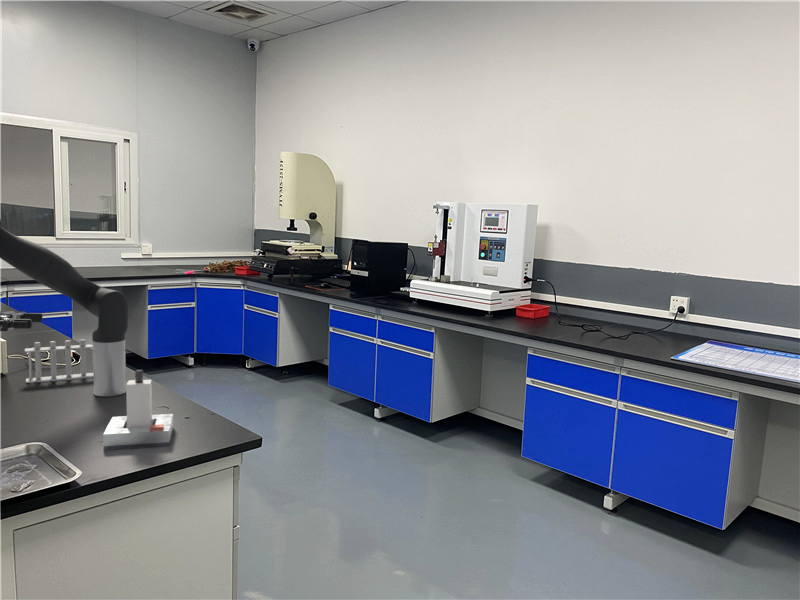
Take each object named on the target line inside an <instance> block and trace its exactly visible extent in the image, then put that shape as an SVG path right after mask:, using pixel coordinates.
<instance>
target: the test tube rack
mask: <svg viewBox="0 0 800 600" xmlns="http://www.w3.org/2000/svg"><path fill="white" fill-rule="evenodd" d="M33 343H34V344H33V347H27V348H24V353H27V355H28V356H27V357H28V374H29V376H28V378H25V384H26V383H30V384H35V383H34V382H41V383H50V381H52V382H61V381H62V380H63V381H69V380H70V381H72V380H83V379H84V378H85V379H93V372H87V350H86V349H93V343H92V344H89V343H88V344H87V342H86V339H84V338H83V339H79V344H77V345H75V344H73V345H72V341H71V340H69V339H68V340H65V341H64V345H61V346H60V345H59V346H58V345H57V343H56V341H54V340H52V341H49V346H45V347H43V346H42V347H41V342H40V341H36V342H33ZM72 350H79V353H80V354H79V356H80V357H79V359H80V373H74V374H73V373H72V372H73V371H72V368H73V367H72ZM57 351H64V354H65V374H64V375H58V373H57V371H58V368H57V367H58V366H57ZM41 352H49V353H50V354H49V355H50V356H49V358H50V375H49V376H42V354H41ZM33 353H34V369H35V373H34V374H35V377H33V365H32V364H33V363H32V362H33V361H32V354H33Z"/></svg>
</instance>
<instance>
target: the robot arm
mask: <svg viewBox="0 0 800 600" xmlns="http://www.w3.org/2000/svg"><path fill="white" fill-rule="evenodd" d="M0 260H3V261H4V262H5V263H7V264H9V265H10V267H11V266H12V267H13V268H14V269H16V270H18V271H20V272H21V273H22V274H24V275H26V276H27V277H29V278H31V279H32V280H34V281H35V282H38V283H39V284H41V285H43V286H45V287H46V288H49V289H51V290H53V291H55V292H56V293H59V294H62V295H63V296H66V297H68V298H69V299H72V301H74V302H76V303H77V304H79V305H80V306H81V307H83V308H84V309H85V310H87V312H89V313H90V314H92V315H94V316H95V317H98V320H97V321H98V322H97V324H98V325H97V326H98V327H97V329H95V330H94V331H93V332H92V335H91V336H92V339H91V340H92V342H91V343H92V344H93V348H92V368H93V370H92V371H93V372H92V373H93V378H92V379H93V395H95V396H97V397H103V398H104V397H116V396H120V395H124V394H125V393H126V384H127V381H126V380H127V377H126V375H127V374H126V373H127V372H126V334H127V330H128V324H129V321H128V319H129V304H128V298H127V296H125V294H124V293H123V292H121V291H119V290H115V289H111V288H106V287H103V286H101V285H98V284H96V283H94V282H92V281H90V280H89V279H87V278H85V277H84V276H82V275H81V274H80V273H79V272H78V271H77V269H76V268H74V266H73V265H72V264H71V263H69V262H68V261H67V260H65V258H63V257H61V256H60V255H59V254H57V253H55V252H54V251H52V250H50V249H48V248H47V247H44V246H42V245H41V244H37V243H35V242H33V241H30V240H28V239H25V238H23V237H20V236H18V235H15V234H13V233H11V232H10V231H8V230H7V229H5V228H3V227H2V220H1V218H0ZM17 316H19V318H17ZM43 317H44V316H43V313H41V312H26V310H19V311H18V310H17V311H16V310H13V311H11V310H8V311H7V310H5V311H4V310H3V311H2V310H0V332H8V331H12V330H14V329H15V330H16V329H19V330H20V329H31V328H32V327H33V323H41V322H43V320H44V319H43Z"/></svg>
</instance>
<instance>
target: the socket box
mask: <svg viewBox="0 0 800 600" xmlns="http://www.w3.org/2000/svg"><path fill="white" fill-rule="evenodd" d="M173 431H174V413H165V414H164V413H163V414H160V413H159V414H152V425H151V426H150V427H141V428H127V415H123V416H121V415H119V416H112V417H111V419H110V421H109V423H108V424H107V426H106V429H105V431H104V432H103V434H102V439H103V441H102V442H103V443H102V444H103V451H107V450H108V451H109V450H111V451H112V450H123V449H126V450H127V449H128V450H129V449H141V448H142V449H144V448H159V447H161V448H162V447H169V446H170V444H171V439H172V434H173Z"/></svg>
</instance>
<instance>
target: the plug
mask: <svg viewBox="0 0 800 600" xmlns="http://www.w3.org/2000/svg"><path fill="white" fill-rule="evenodd" d="M134 371H135V372H134V375H135V377H134V379H130V380H128V381H126V392H125V393H126V397H125V398H126V416H127V428H141V427H150V426H151V425H152V415H153V394H152V392H153V390H152V389H153V385H152V379H144V370H143V369H136V370H134Z"/></svg>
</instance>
